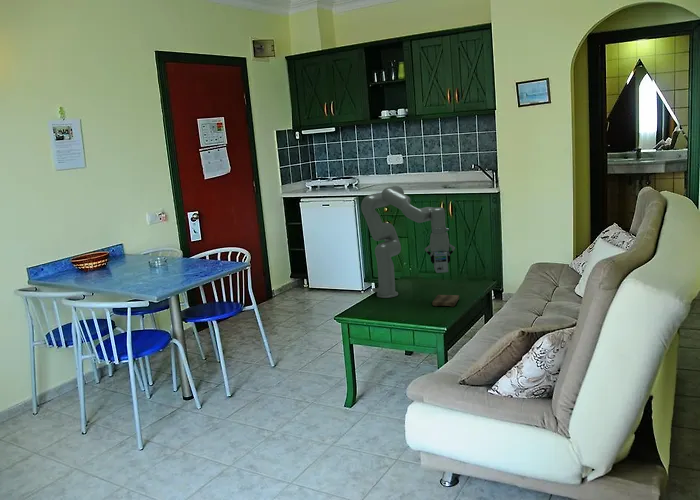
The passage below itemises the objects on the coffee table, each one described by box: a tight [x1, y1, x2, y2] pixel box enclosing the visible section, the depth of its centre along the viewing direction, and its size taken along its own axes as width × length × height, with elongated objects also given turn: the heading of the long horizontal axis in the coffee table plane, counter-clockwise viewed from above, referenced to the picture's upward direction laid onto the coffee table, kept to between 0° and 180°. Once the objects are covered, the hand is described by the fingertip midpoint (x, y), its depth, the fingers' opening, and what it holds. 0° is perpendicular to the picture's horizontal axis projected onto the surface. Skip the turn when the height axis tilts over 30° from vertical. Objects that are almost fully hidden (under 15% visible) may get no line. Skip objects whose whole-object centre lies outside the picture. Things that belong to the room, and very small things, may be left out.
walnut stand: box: [431, 294, 460, 308], centre depth 333 cm, size 12×15×2 cm
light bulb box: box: [433, 252, 449, 274], centre depth 329 cm, size 11×7×11 cm, turn 178°
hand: (440, 262), depth 329 cm, fingers closed on light bulb box, 7 cm apart
